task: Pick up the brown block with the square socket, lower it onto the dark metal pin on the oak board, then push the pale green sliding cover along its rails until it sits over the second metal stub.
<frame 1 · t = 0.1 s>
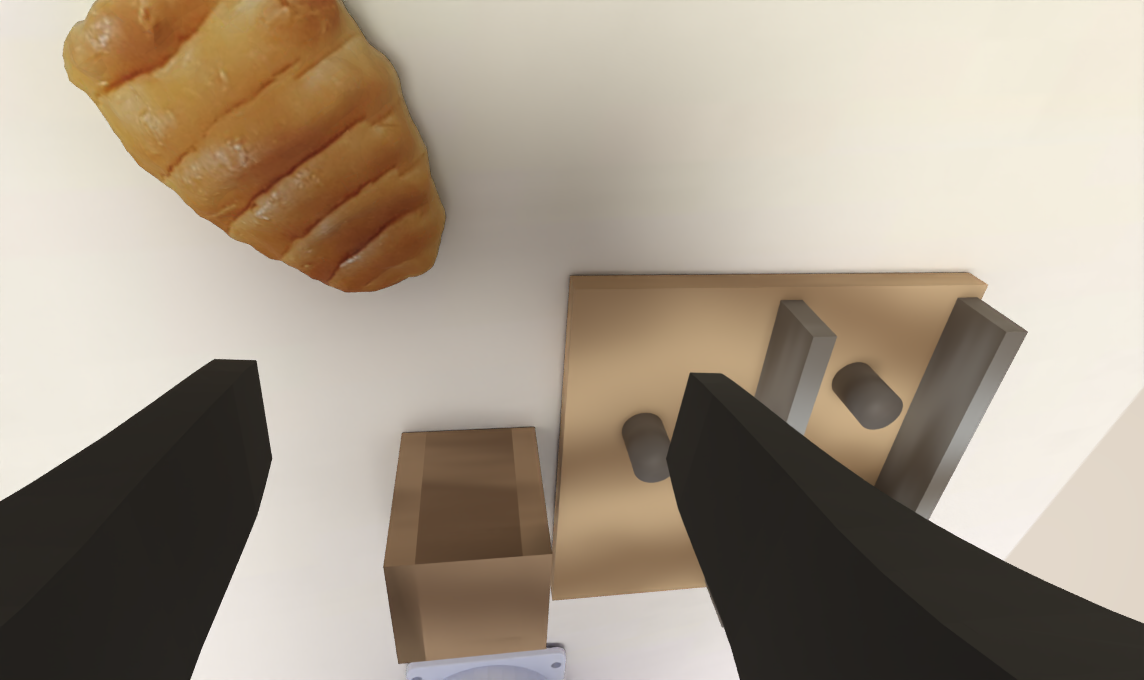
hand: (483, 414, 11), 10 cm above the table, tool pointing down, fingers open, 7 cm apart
board: (734, 445, 26), on the table
pastry: (296, 105, 17), on the table
brown block: (471, 477, 25), on the table
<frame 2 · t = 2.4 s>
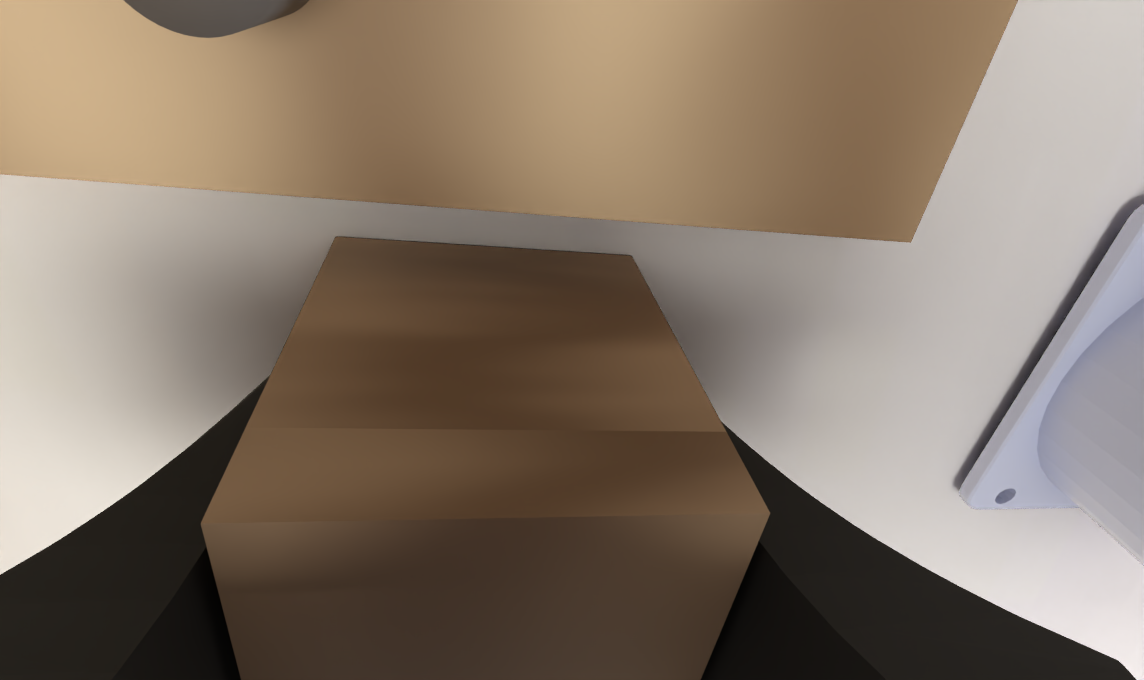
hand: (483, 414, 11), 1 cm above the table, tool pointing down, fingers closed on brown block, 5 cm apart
brown block: (482, 367, 12), on the table, touching gripper
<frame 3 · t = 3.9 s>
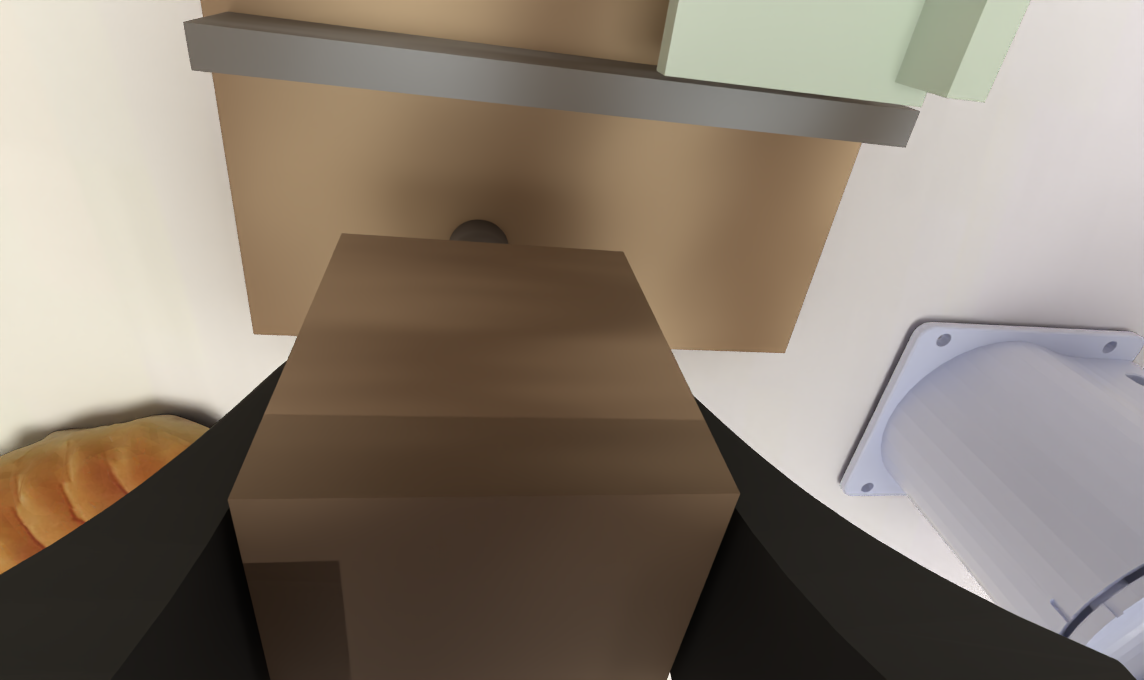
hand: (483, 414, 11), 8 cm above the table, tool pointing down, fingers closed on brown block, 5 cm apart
board: (567, 71, 15), on the table
pastry: (108, 488, 21), on the table
brown block: (481, 357, 12), point 6 cm above the table, touching gripper
when the fingers open (3 cm above the table, at t = 5.4 s): brown block stays where it is, resting on board.
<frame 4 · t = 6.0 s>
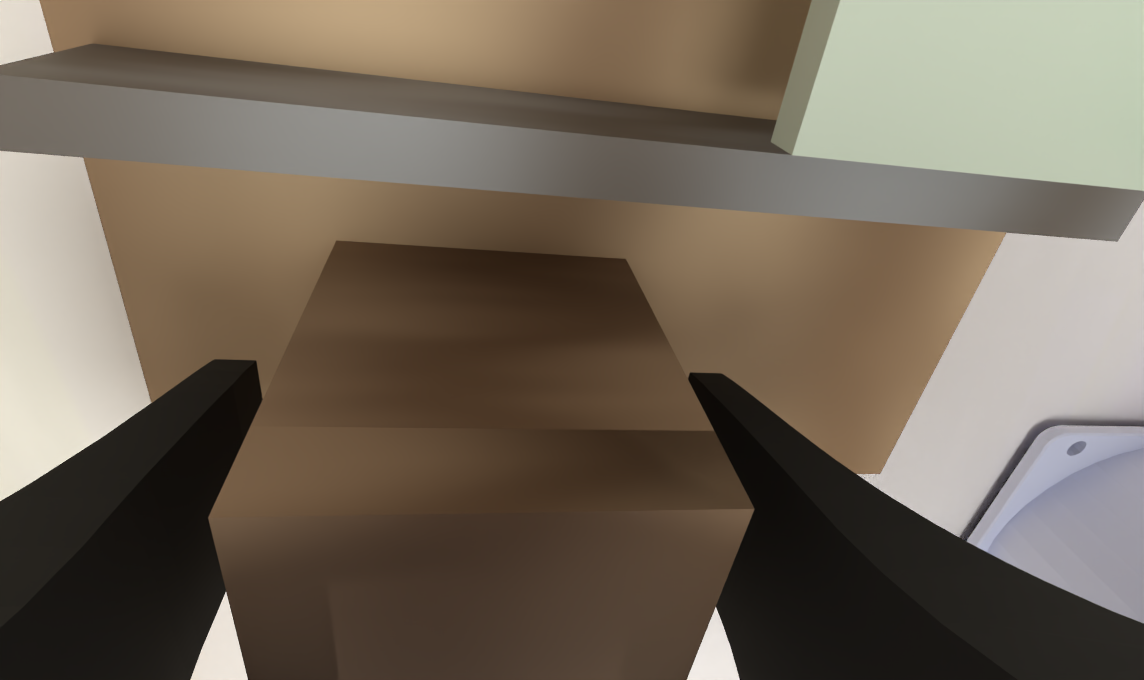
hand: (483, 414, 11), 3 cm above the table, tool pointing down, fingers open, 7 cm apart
board: (609, 121, 11), on the table
brown block: (479, 368, 12), point 1 cm above the table, touching board
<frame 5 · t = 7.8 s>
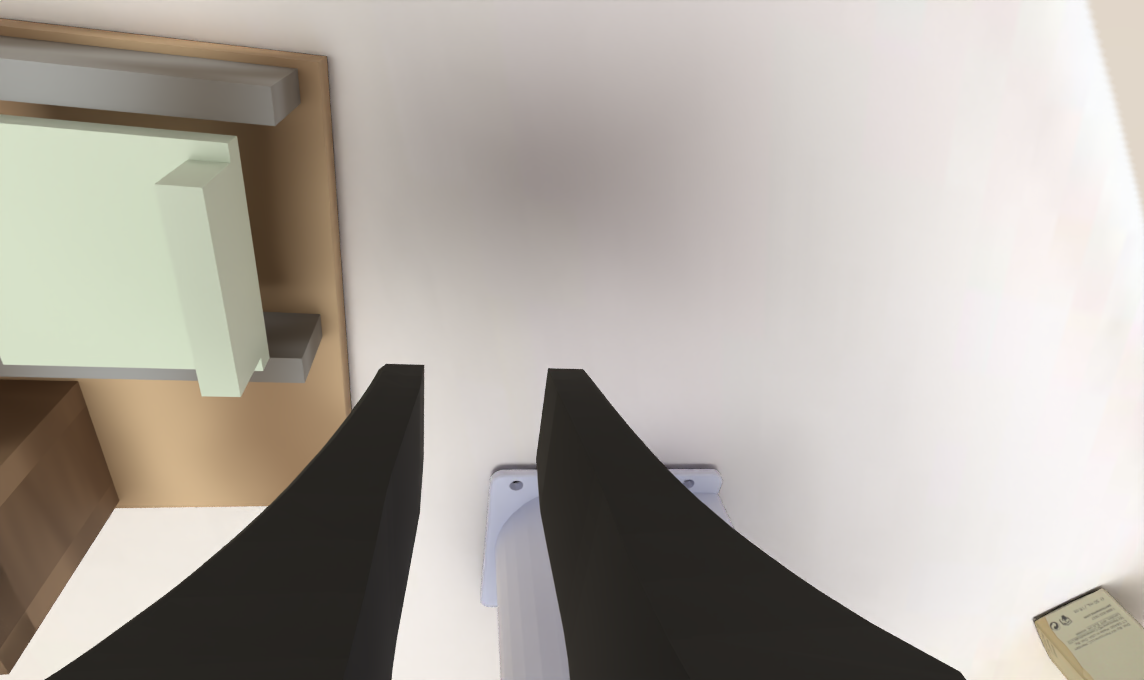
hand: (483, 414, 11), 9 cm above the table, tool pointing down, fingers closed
skincare box: (1072, 620, 37), on the table
cover: (96, 271, 13), point 5 cm above the table, slide at 0.0 cm
board: (57, 300, 18), on the table
brown block: (9, 444, 19), point 1 cm above the table, touching board
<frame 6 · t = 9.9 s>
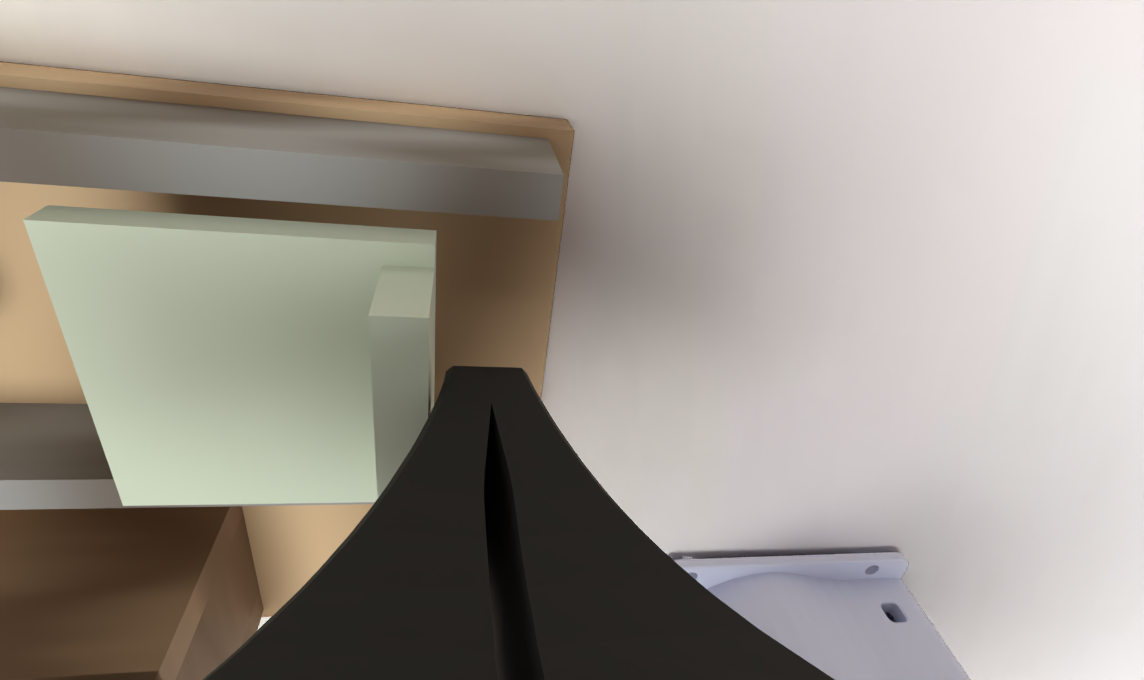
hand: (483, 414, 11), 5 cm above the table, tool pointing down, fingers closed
cover: (256, 404, 10), point 5 cm above the table, slide at 1.4 cm, touching gripper
board: (217, 396, 15), on the table
brown block: (151, 556, 17), point 1 cm above the table, touching board
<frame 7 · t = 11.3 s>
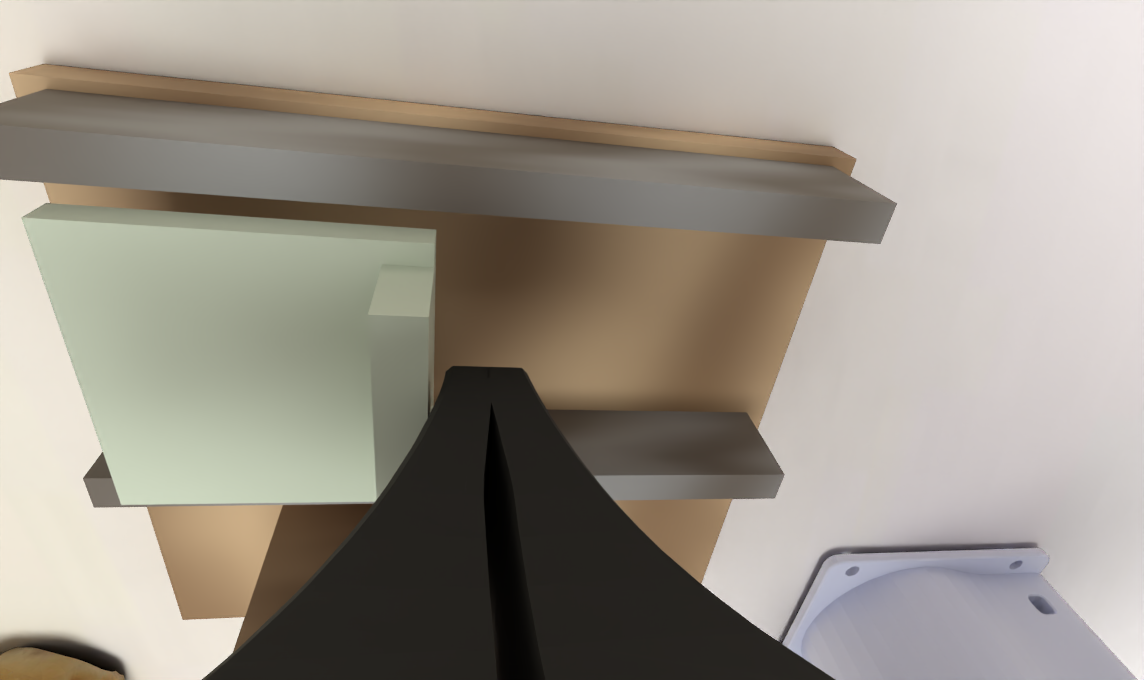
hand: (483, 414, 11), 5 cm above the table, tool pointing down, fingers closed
cover: (255, 403, 10), point 5 cm above the table, slide at 7.6 cm, touching gripper
board: (469, 400, 17), on the table
brown block: (390, 548, 18), point 1 cm above the table, touching board
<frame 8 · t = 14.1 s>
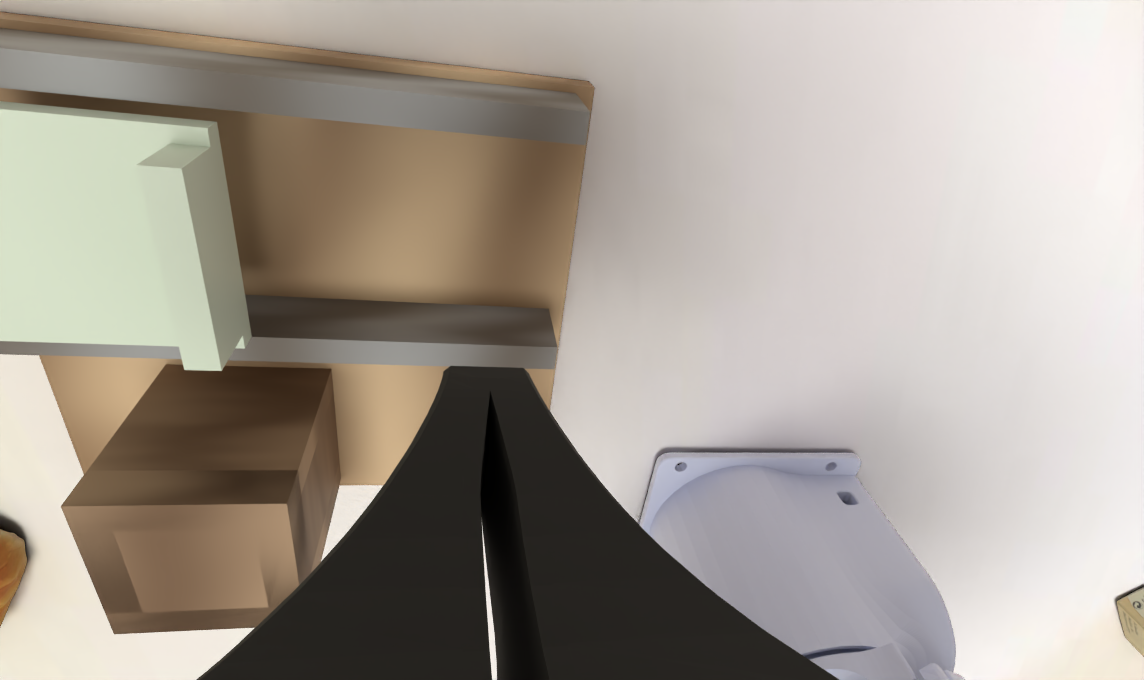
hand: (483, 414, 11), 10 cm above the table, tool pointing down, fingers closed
cover: (83, 250, 14), point 5 cm above the table, slide at 7.7 cm
board: (317, 296, 20), on the table
brown block: (260, 426, 21), point 1 cm above the table, touching board
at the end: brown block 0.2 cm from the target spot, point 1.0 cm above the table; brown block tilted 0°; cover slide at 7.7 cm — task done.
